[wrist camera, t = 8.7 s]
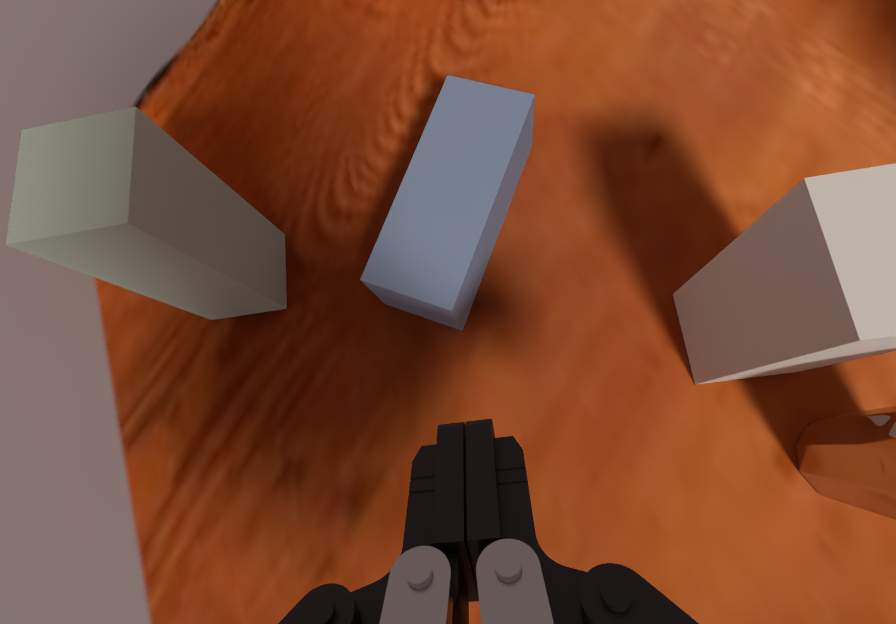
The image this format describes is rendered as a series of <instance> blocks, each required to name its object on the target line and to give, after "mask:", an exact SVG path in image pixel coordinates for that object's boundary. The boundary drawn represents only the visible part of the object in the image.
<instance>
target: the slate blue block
mask: <svg viewBox="0 0 896 624" xmlns="http://www.w3.org/2000/svg"><path fill="white" fill-rule="evenodd" d="M534 100H535V95H534V94H529V93H525V92H520V91H516V90H512V89H507V88H503V87H498V86H494V85H489V84H485V83H481V82H476V81H472V80H467V79H463V78H458V77H454V76H450V75H447V77H446V80H445V82H444V84H443V87H442V89H441V91H440V94H439V96H438V98H437V101H436V103H435V106H434V108H433V110H432V113H431V115H430V117H429V120H428V122H427V124H426V127H425V129H424V131H423V134H422V136H421V138H420V141H419V143H418V145H417V148H416V150H415V152H414V155H413V157H412V159H411V162H410V164H409V166H408V169H407V171H406V173H405V176H404V178H403V180H402V183H401V185H400V187H399V190H398V192H397V194H396V197H395V199H394V201H393V204H392V206H391V208H390V211H389V213H388V216H387V218H386V220H385V223H384V225H383V227H382V230H381V232H380V234H379V237H378V239H377V241H376V244H375V246H374V248H373V251H372V253H371V255H370V258H369V260H368V262H367V265H366V267H365V269H364V272H363V274H362V276H361V279H360V280H361V281H362V282H363V283H364V284H365V285H366V286H367V287H368V288H369V289H370V290H371V291H372V292H373V293H374V294H375V295H376V296H377V297H378V298H379V299H380V300H381V301H382V302H383V303H384V304H386V305H389V306H392V307H394V308H397V309H400V310H403V311H406V312H409V313H412V314H415V315H418V316H420V317H423V318H426V319H429V320H432V321H435V322H438V323H441V324H444V325H447V326H449V327H452V328H455V329H458V330H461V331H463V328H464V325H465V323H466V320H467V317H468V315H469V312H470V309H471V307H472V304H473V301H474V299H475V296H476V293H477V291H478V288H479V286H480V283H481V280H482V278H483V275H484V272H485V270H486V267H487V264H488V262H489V259H490V256H491V254H492V251H493V248H494V246H495V243H496V240H497V238H498V235H499V232H500V230H501V227H502V224H503V222H504V219H505V216H506V214H507V211H508V208H509V206H510V203H511V200H512V198H513V195H514V192H515V190H516V187H517V184H518V182H519V179H520V176H521V174H522V171H523V168H524V166H525V163H526V160H527V158H528V155H529V152H530V150H531V147H532V134H533V117H534Z"/></svg>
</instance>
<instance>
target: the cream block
mask: <svg viewBox="0 0 896 624" xmlns="http://www.w3.org/2000/svg"><path fill="white" fill-rule="evenodd" d="M673 298H674V302H675V306H676V310H677V314H678V318H679V322H680V326H681V330H682V334H683V338H684V342H685V346H686V351H687V355H688V359H689V363H690V367H691V371H692V375H693V379H694V383H695V384H703V383H711V382H719V381H727V380H736V379H744V378H752V377H760V376H768V375H777V374H785V373H793V372H799V371H804V370H808V369H813V368H818V367H822V366H827V365H832V364H836V363H841V362H846V361H850V360H855V359H860V358H864V357H869V356H874V355H878V354H883V353H888V352H892V351H896V163H895V164H889V165H883V166H876V167H870V168H864V169H858V170H852V171H846V172H839V173H833V174H827V175H821V176H815V177H809V178H804V179H803V180H802V181H800V182H799V183H798V184H797V185H796V186H795V187H794V188H792V189H791V190H790V191H789V192H788V193H787V194H786V195H785V196H783V197H782V198H781V199H780V200H779V201H778V202H777V203H775V204H774V205H773V206H772V207H771V208H770V209H769V210H768V211H766V212H765V213H764V214H763V215H762V216H761V217H760V218H758V219H757V220H756V221H755V222H754V223H753V224H752V225H751V226H749V227H748V228H747V229H746V230H745V231H744V232H743V233H741V234H740V235H739V236H738V237H737V238H736V239H735V240H734V241H732V242H731V243H730V244H729V245H728V246H727V247H726V248H724V249H723V250H722V251H721V252H720V253H719V254H718V255H717V256H715V257H714V258H713V259H712V260H711V261H710V262H709V263H707V264H706V265H705V266H704V267H703V268H702V269H701V270H700V271H698V272H697V273H696V274H695V275H694V276H693V277H692V278H690V279H689V280H688V281H687V282H686V283H685V284H684V285H683V286H681V287H680V288H679V289H678V290H677V291H676V292H675V293H673Z"/></svg>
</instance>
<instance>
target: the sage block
mask: <svg viewBox="0 0 896 624" xmlns="http://www.w3.org/2000/svg"><path fill="white" fill-rule="evenodd" d="M6 245H8V246H11V247H13V248H16V249H19V250H22V251H24V252H27V253H30V254H33V255H35V256H38V257H41V258H43V259H46V260H49V261H52V262H54V263H57V264H60V265H62V266H65V267H68V268H71V269H73V270H76V271H79V272H82V273H84V274H87V275H90V276H92V277H95V278H98V279H101V280H103V281H106V282H109V283H112V284H114V285H117V286H120V287H122V288H125V289H128V290H131V291H133V292H136V293H139V294H142V295H144V296H147V297H150V298H152V299H155V300H158V301H161V302H163V303H166V304H169V305H171V306H174V307H177V308H180V309H182V310H185V311H188V312H191V313H193V314H196V315H199V316H201V317H204V318H207V319H210V320H215V319H222V318H229V317H235V316H242V315H249V314H255V313H262V312H268V311H275V310H282V309H287V294H286V254H285V234H284V233H283V232H282V231H280V230H279V229H278V228H277V227H276V226H275V225H273V224H272V223H271V222H270V221H269V220H268V219H266V218H265V217H264V216H263V215H262V214H261V213H259V212H258V211H257V210H256V209H255V208H254V207H252V206H251V205H250V204H249V203H248V202H247V201H245V200H244V199H243V198H242V197H241V196H240V195H238V194H237V193H236V192H235V191H234V190H233V189H231V188H230V187H229V186H228V185H227V184H226V183H224V182H223V181H222V180H221V179H220V178H219V177H217V176H216V175H215V174H214V173H213V172H212V171H210V170H209V169H208V168H207V167H206V166H205V165H203V164H202V163H201V162H200V161H199V160H198V159H196V158H195V157H194V156H193V155H192V154H191V153H189V152H188V151H187V150H186V149H185V148H184V147H182V146H181V145H180V144H179V143H178V142H177V141H175V140H174V139H173V138H172V137H171V136H170V135H168V134H167V133H166V132H165V131H164V130H162V129H161V128H160V127H159V126H158V125H157V124H155V123H154V122H153V121H152V120H151V119H150V118H148V117H147V116H146V115H145V114H144V113H143V112H141V111H140V110H139V109H138V108H137V107H132V108H127V109H122V110H117V111H112V112H107V113H102V114H98V115H93V116H88V117H83V118H78V119H73V120H69V121H63V122H58V123H54V124H49V125H44V126H39V127H34V128H29V129H25V130H22V134H21V140H20V148H19V155H18V162H17V169H16V176H15V184H14V191H13V198H12V205H11V212H10V219H9V226H8V233H7V241H6Z"/></svg>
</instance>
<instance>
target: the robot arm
mask: <svg viewBox="0 0 896 624" xmlns="http://www.w3.org/2000/svg"><path fill="white" fill-rule="evenodd" d="M472 601H479V604H480V613H481V623H482V624H699V623H697V622H696V621H695V620H694V619H692V618H691V617H690V616H689V615H688V614H686V613H685V612H684V611H683V610H681V609H680V608H679V607H678V606H677V605H675V604H674V603H673V602H672V601H670V600H669V599H668V598H667V597H666V596H664V595H663V594H662V593H661V592H659V591H658V590H657V589H656V588H655V587H653V586H652V585H651V584H650V583H648V582H647V581H646V580H645V579H644V578H642V577H641V576H640V575H639V574H637V573H636V572H635V571H633V570H632V569H630V568H628V567H626V566H623V565H619V564H614V563H606V564H601V565H598V566H595V567H594V568H592V569H591V570H589V571H588V572H584V571H580V570H577V569H573V568H569V567H565V566H562V565H560V564H558V563H556V562H555V561H553V560H552V559H550V558H549V557H548V556H547V555H546V554H545V553H544V552H543V551H542V549H541V548H540V546H539V544H538V542H537V539H536V535H535V528H534V521H533V515H532V508H531V501H530V495H529V488H528V481H527V475H526V468H525V461H524V454H523V449H522V448H521V447H520V445H519V444H518V442H517V441H516V440H515V438H514V437H513V436H509V437H500V438H495V434H494V428H493V422H492V419H485V420H477V421H468V422H466V426H465V423H464V422H460V423H451V424H442V425H438V430H437V444H436V445H427V446H421V448H420V450H419V451H418V453H417V455H416V456H415V458H414V460H413V461H412V470H411V482H410V488H409V497H408V506H407V515H406V523H405V532H404V541H403V548H402V552H401V555H400V557H399V558H398V559H397V560H396V561H395V563H394V564H393V566H392V569H391V571H390V572H389V573H388V574H387V575H385V576H384V577H383V578H381V579H380V580H378V581H376V582H374V583H372V584H369V585H367V586H365V587H362V588H360V589H358V590H355V591H353V592H351V593H350V592H349V590H348V589H347V588H345V587H344V586H342V585H339V584H325V585H321V586H319V587H317V588H315V589H313V590H312V591H310V592H309V593H308V594H306V595H305V596H304V597H303V598H302V599H301V600H300V601H299V602H298V604H297V605H296V606H295V607H294V608H293V609H292V610H291V611H290V612H289V613H288V614H287V615H286V616H285V617H284V618H283V619H282V620H281V621H280V622H279V623H278V624H469V602H472Z"/></svg>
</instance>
